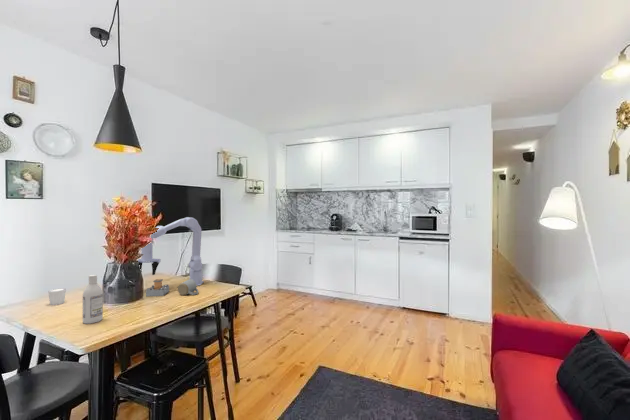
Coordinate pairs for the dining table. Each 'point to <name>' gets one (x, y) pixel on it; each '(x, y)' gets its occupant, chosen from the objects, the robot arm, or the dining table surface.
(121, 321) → the dining table surface
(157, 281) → the wedge pin
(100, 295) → the bath foam
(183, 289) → the ceramic mug
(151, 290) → the rosette block
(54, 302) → the white ribbed cup
